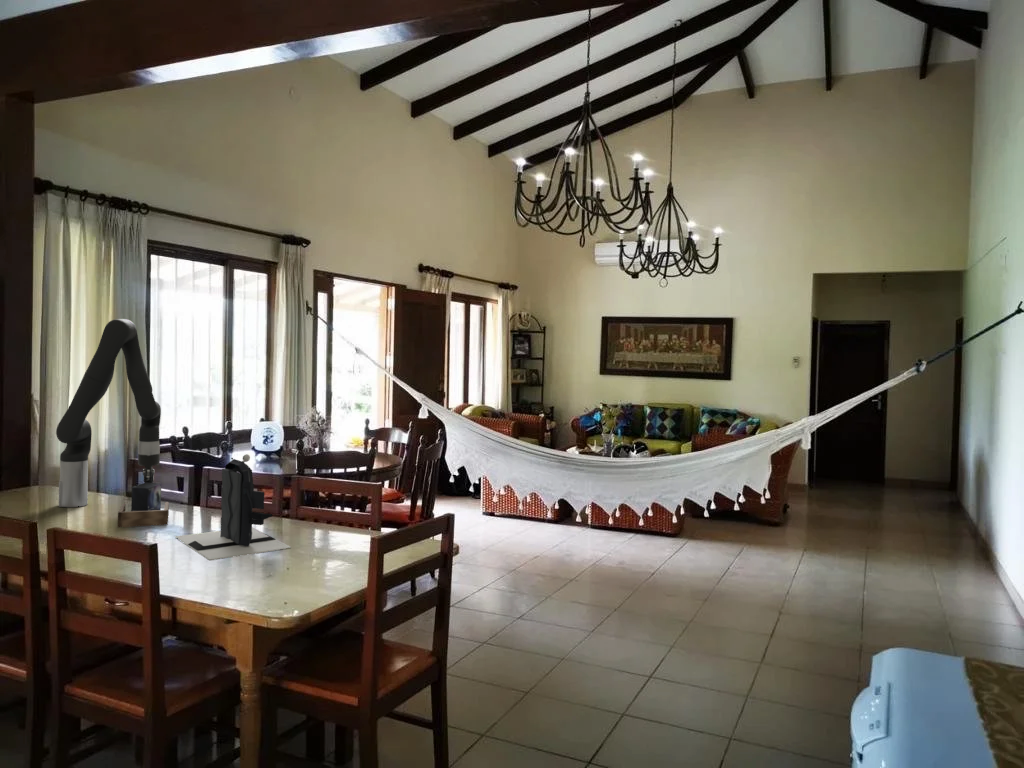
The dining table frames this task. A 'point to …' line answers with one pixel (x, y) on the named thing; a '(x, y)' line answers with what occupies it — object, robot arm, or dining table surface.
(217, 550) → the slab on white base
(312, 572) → the dining table surface
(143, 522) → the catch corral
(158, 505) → the small box
